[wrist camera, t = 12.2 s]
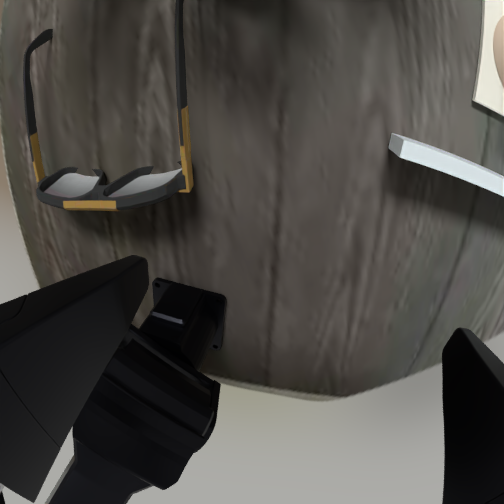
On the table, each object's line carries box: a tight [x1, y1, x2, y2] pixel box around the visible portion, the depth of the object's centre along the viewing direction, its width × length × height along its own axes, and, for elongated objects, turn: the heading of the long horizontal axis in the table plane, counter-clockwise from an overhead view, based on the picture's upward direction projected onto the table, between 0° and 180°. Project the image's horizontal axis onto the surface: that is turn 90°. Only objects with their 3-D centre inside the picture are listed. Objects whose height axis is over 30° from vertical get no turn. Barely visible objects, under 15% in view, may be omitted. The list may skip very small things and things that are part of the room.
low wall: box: [388, 133, 504, 197], centre depth 15 cm, size 1×14×3 cm, turn 83°
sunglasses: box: [23, 0, 193, 211], centre depth 17 cm, size 14×15×5 cm
